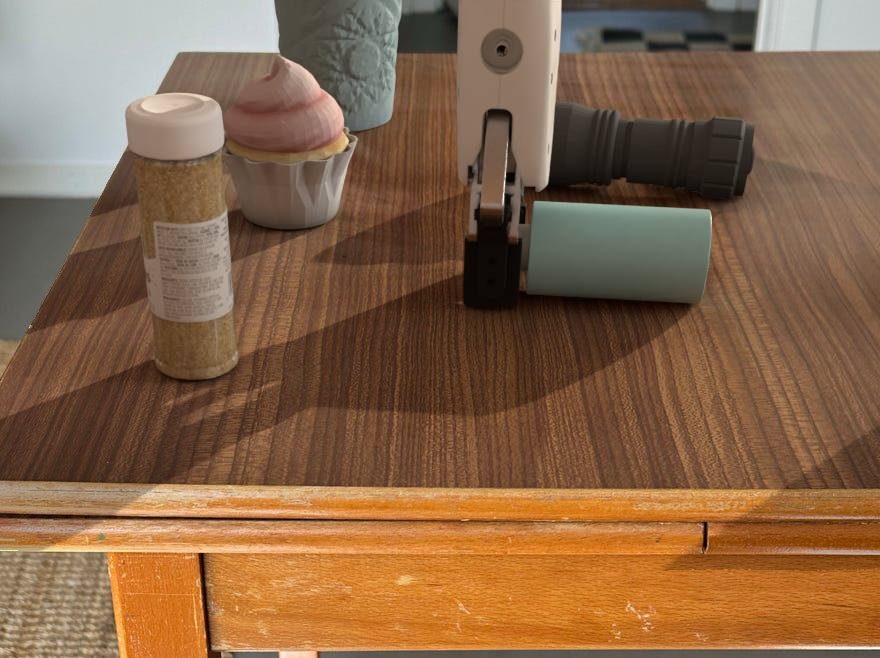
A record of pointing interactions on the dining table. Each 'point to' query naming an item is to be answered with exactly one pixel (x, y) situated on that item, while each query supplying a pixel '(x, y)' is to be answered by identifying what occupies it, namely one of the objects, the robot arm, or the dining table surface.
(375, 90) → the embossed vase
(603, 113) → the flashlight
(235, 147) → the cupcake
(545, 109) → the robot arm
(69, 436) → the dining table surface
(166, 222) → the sprinkles bottle
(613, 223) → the spray bottle
